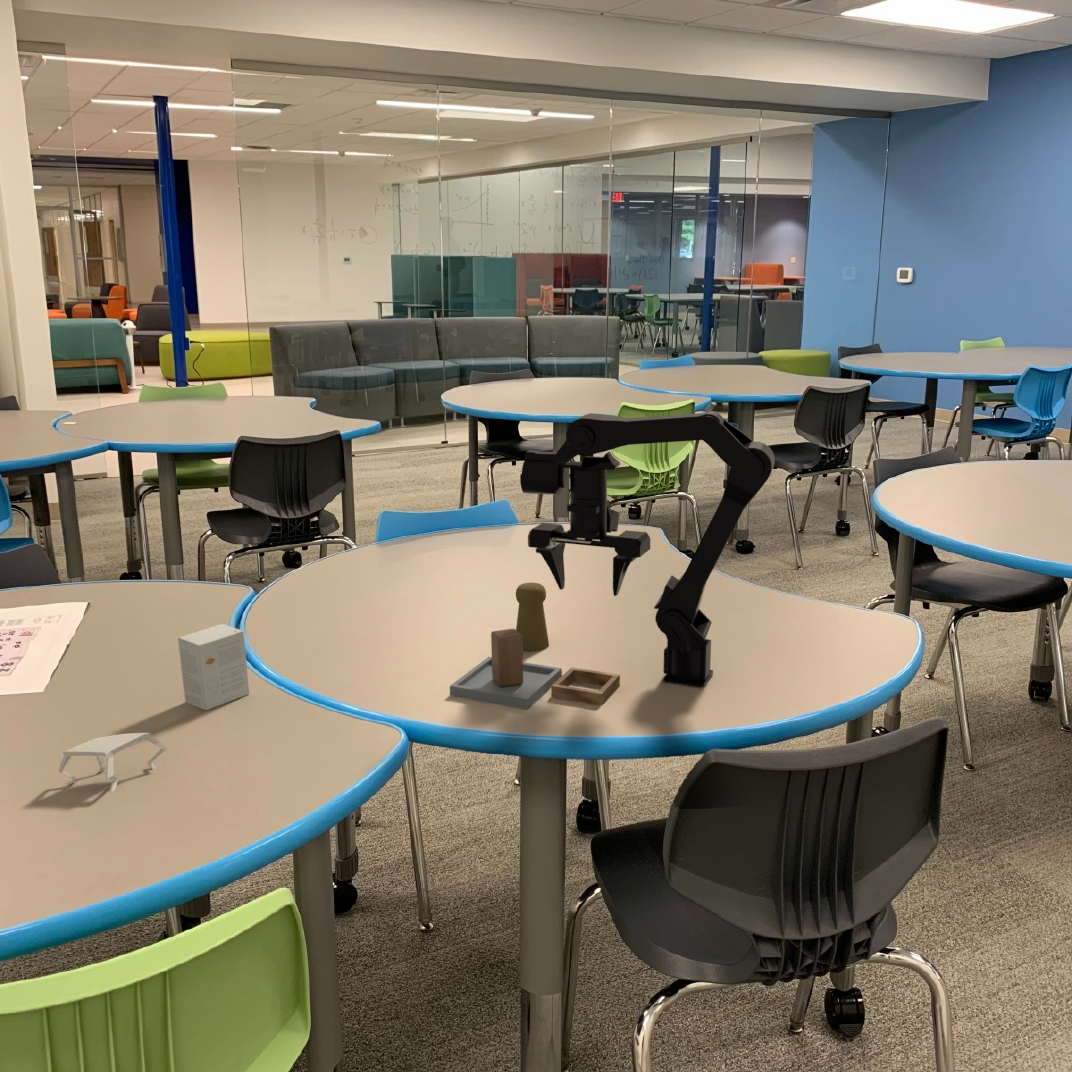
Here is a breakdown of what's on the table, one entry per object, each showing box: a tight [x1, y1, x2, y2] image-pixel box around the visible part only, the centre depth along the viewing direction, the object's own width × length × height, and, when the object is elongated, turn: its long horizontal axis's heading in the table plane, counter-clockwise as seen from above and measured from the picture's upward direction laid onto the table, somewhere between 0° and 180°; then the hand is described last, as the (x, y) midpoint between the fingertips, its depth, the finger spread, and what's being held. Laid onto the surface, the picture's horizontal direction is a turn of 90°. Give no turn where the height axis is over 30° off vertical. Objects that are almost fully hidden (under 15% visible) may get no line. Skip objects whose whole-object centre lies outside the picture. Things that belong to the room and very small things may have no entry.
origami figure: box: [58, 732, 168, 793], centre depth 130 cm, size 12×8×5 cm
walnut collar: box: [550, 666, 621, 706], centre depth 155 cm, size 8×8×2 cm
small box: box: [177, 623, 250, 711], centre depth 153 cm, size 8×6×10 cm
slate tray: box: [449, 656, 563, 710], centre depth 157 cm, size 13×13×2 cm
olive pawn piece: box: [515, 582, 550, 652], centre depth 173 cm, size 6×6×11 cm
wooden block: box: [490, 628, 524, 687], centre depth 156 cm, size 4×4×8 cm
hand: (588, 592), depth 161 cm, fingers open, 9 cm apart
